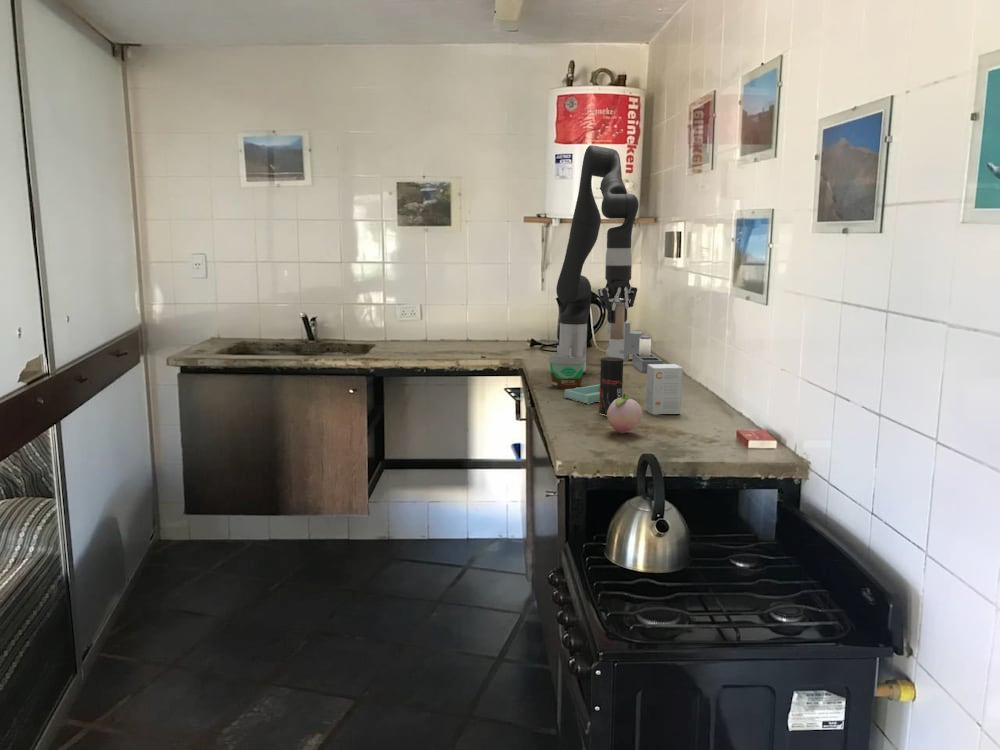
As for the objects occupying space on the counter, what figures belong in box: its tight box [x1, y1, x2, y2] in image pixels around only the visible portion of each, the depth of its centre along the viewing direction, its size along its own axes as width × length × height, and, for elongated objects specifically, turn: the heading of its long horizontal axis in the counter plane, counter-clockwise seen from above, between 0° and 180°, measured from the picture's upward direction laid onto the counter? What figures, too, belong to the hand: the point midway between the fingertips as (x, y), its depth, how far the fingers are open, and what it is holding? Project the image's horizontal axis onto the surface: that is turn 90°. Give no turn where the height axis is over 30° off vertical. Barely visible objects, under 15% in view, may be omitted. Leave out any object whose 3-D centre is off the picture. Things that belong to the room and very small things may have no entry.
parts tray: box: [564, 384, 624, 403], centre depth 234 cm, size 14×10×2 cm
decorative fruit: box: [606, 393, 643, 434], centre depth 194 cm, size 9×8×10 cm
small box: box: [645, 363, 684, 415], centre depth 216 cm, size 8×6×13 cm
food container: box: [547, 354, 587, 389], centre depth 249 cm, size 12×6×10 cm, turn 105°
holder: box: [631, 334, 664, 374], centre depth 278 cm, size 16×7×12 cm, turn 3°
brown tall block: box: [610, 302, 625, 340], centre depth 236 cm, size 4×4×11 cm
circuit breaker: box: [605, 320, 643, 362], centre depth 296 cm, size 8×14×15 cm, turn 78°
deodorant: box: [598, 356, 624, 415], centre depth 214 cm, size 6×6×15 cm
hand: (617, 322), depth 236 cm, fingers closed on brown tall block, 4 cm apart
